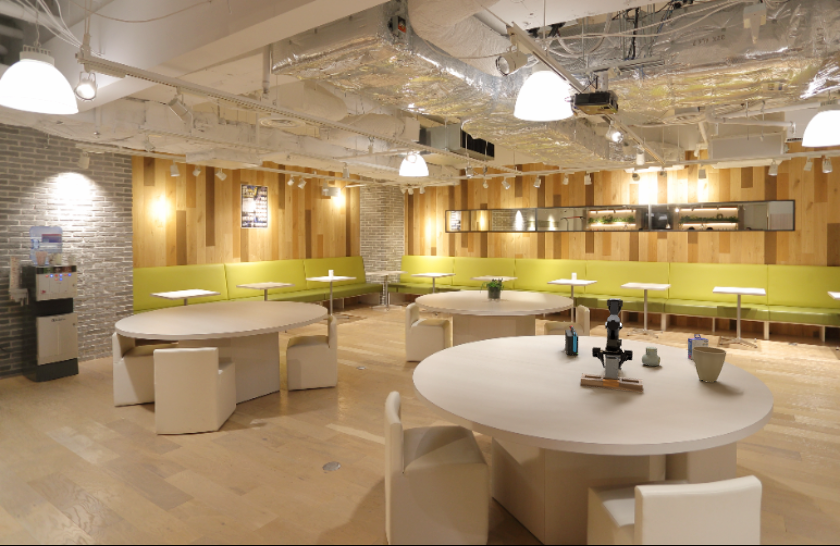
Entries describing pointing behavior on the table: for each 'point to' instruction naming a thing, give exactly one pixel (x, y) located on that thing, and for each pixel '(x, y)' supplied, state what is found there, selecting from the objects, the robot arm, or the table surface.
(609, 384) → the slot rack
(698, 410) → the table surface
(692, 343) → the ink cartridge box
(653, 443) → the table surface
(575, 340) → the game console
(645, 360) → the air freshener
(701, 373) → the plant pot
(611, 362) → the gray rectangular block
